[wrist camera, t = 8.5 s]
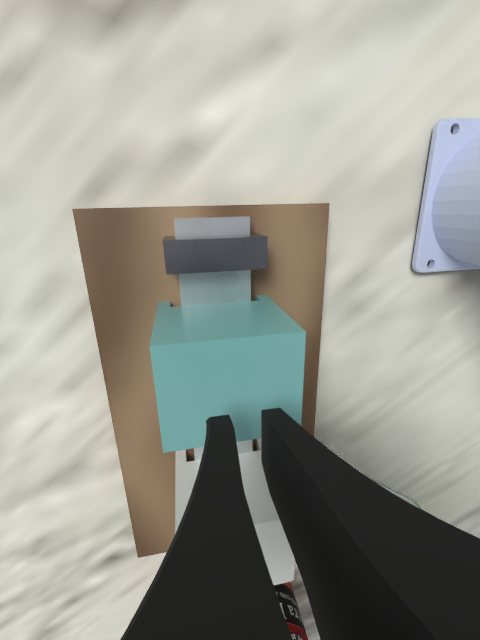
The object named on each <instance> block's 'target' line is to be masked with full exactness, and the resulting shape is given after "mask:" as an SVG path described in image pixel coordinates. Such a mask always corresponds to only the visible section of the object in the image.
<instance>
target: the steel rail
mask: <svg viewBox="0 0 480 640" xmlns="http://www.w3.org/2000/svg"><path fill="white" fill-rule="evenodd" d="M174 229H175V236H164V239H163V249H164V259H165V269H166V275H170V274H179V285H180V297H181V306H191V305H204V304H218V303H231V302H245V301H251V270H257V269H267V252H268V236H264V235H261V234H258V233H250V217H249V216H235V217H199V218H174ZM237 449H238V454H240V453H246V452H253V443H252V440H246V441H239V442H237ZM203 450H204V447H199V448H194V456H195V460H201V458H202V454H203Z"/></svg>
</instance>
